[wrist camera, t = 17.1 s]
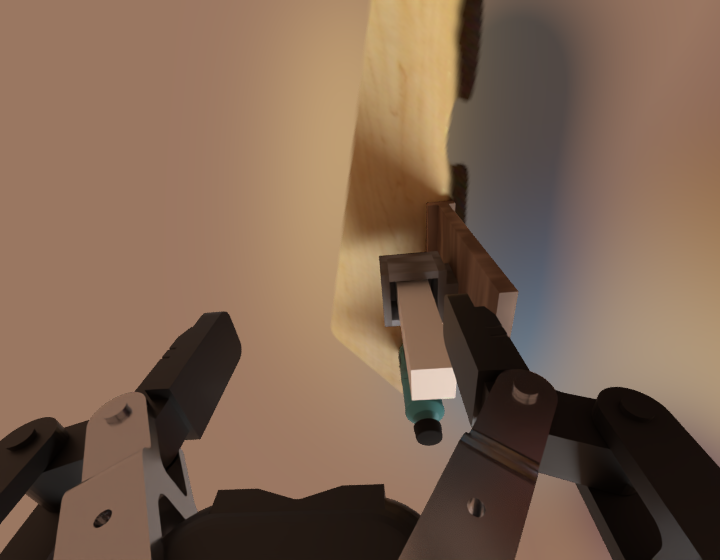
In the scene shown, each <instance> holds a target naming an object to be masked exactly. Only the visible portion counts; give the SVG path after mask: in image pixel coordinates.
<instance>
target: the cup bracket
mask: <svg viewBox="0 0 720 560" xmlns="http://www.w3.org/2000/svg"><path fill="white" fill-rule="evenodd" d="M379 261H380V273H381V285H382V297H383V309H384V321H385V327H389V326H401V325H400V319H399V312H398V305H397V299H396V287H395V282H396V281H408V280H420V279H428V282H429V285H430V288H431V291H432V294H433V297H434V300H435V303H436V306H437V309H438V312H439V315H440V317H441V320H442V323H443V316H444V297H445V295H450V294H463V293H467V294H468V295H469V297H470V299H471V301H472V303H473V305H474V307H479V306H485V307H486V308H487V309H489V310H490V311H491V312H493V313H494V314H495V315H496V316H497V318H498V319H499V321H500V323H501V324H502V327H503V328H504V329H505V331H506V332H507V334H508V337H510V335H511V330H512V324H513V319H514V313H515V308H516V302H517V297H518V290H517V289H516V288H515V287H514V285H513V284H512V283H511V282H510V280H509V279H508V278H507V277H506V275H505V274H504V273H503V272H502V270H501V269H500V268H499V267H498V265H497V264H496V263H495V262H494V260H493V259H492V258H491V257H490V255H489V254H488V253H487V252H486V250H485V249H484V248H483V247H482V245H481V244H480V243H479V241H478V240H477V239H476V238H475V236H473V234H472V233H471V232H470V230H469V229H468V228H467V226H466V225H465V224H464V223H463V221H462V220H461V219H460V218H459V216H458V215H457V214H456V213H455V202H454V201H453V200H452V201H442V202H432V203H427V249H426V252H420V253H409V254H397V255H386V256H379Z"/></svg>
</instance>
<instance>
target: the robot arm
mask: <svg viewBox="0 0 720 560" xmlns="http://www.w3.org/2000/svg"><path fill="white" fill-rule="evenodd" d="M443 337H444V343H445V347H446V350H447V353H448V356H449V359H450V362H451V365H452V369H453V372H454V375H455V378H456V381H457V384H458V387H459V390H460V393H461V397H462V400H463V403H464V405H465V409H466V412H467V415H468V418H469V421H470V424H471V427H472V429H471V431H470V433H467V432H466V433H464V434H463V436H462V437H461V439H460V440H459V442H458V444H457V446H456V448H455V450H454V452H453V454H452V456H451V458H450V460H449V462H448V464H447V466H446V468H445V470H444V471H443V473H442V475H441V477H440V479H439V481H438V483H437V485H436V487H435V489H434V491H433V493H432V495H431V497H430V499H429V501H428V502H427V504H426V506H425V508H424V510H423V512H422V514H421V515H419V514H418V513H417V512H416V511H414V510H413V509H411V508H409V507H408V506H406V505H404V504H402V503H400V502H398V501H395V500H392V499H389V498H386V497H385V490H384V484H374V485H349V486H348V485H347V486H340V487H336V488H333V489H330V490H327V491H324V492H321V493H318V494H315V495H312V496H309V497H306V498H303V499H292V498H288V497H285V496H281V495H278V494H274V493H271V492H267V491H264V490H261V489H235V490H218V492H217V495H216V498H215V500H214V503H213V505H212V506H210V507H208V508H205V509H203V510H201V511H199V512H198V511H197V508H196V506H195V503H194V499H193V494H192V490H191V485H190V481H189V476H188V471H187V467H186V462H185V457H184V453H183V451H182V450H181V448H180V447H181V446H182V444H183V442H184V440H194V439H201V437H202V435H203V433H204V431H205V429H206V427H207V425H208V423H209V420H210V418H211V416H212V414H213V412H214V410H215V408H216V406H217V404H218V402H219V400H220V398H221V396H222V394H223V392H224V390H225V388H226V386H227V384H228V382H229V380H230V378H231V376H232V374H233V372H234V370H235V368H236V366H237V364H238V362H239V359H240V356H241V343H240V340H239V338H238V335H237V333H236V330H235V328H234V325H233V323H232V320H231V318H230V316H229V314H228V313H227V312H212V313H204V314H203V315H202V316H201V317H200V318H199V320H198V321H197V322H196V324H195V325H194V326H193V327H191V328H190V329H188V330H187V331H186V332H184V333H183V334H182V335H180V336H179V337H178V338H177V339H176V340H175V342H174V343H173V344H172V345H171V347H170V350H168V351H167V352H166V353H165V354H164V355H163V357H162V359H160V361H159V362H158V363H157V364H156V366H155V367H154V368H153V369H152V370H151V372H150V373H149V374H148V376H147V377H146V378H145V379H144V380H143V382H142V383H141V384H140V386H139V387H138V388H137V389H136V390H135V392H130V393H126V394H123V395H120V396H118V397H116V398H114V399H112V400H110V401H109V402H107V403H106V404H104V405H103V406H102V407H101V408H99V409H98V410H97V411H96V412H95V413H94V415H93V416H92V417H91V418H90V420H88V421H84V422H81V423H78V424H75V425H72V426H69V427H65V428H64V427H63V426H62V425H61V424H60V423H59V422H58V421H57V420H56V419H54V418H51V417H45V418H40V419H37V420H34V421H31V422H29V423H27V424H25V425H23V426H21V427H19V428H18V429H16V430H14V431H13V432H11V433H10V434H9V435H7V436H6V437H5V438H3V439H2V440H1V441H0V524H1V522H2V521H3V520H4V519H5V518H6V516H7V515H8V514H9V513H10V511H11V510H12V509H13V508H14V507H15V505H16V504H17V503H18V502H19V501H20V499H21V498H22V497H23V496H24V495H25V494H26V495H28V496H29V497H30V498H32V499H33V500H34V501H35V502H37V503H38V505H37V507H36V508H35V509H34V510H33V512H32V513H31V514H30V516H29V517H28V519H27V520H26V521H25V522H24V524H23V525H22V526H21V527H20V529H19V530H18V531H17V533H16V534H15V535H14V537H13V538H12V539H11V540H10V542H9V543H8V544H7V546H6V547H5V548H4V550H3V551H2V553H1V554H0V560H515V557H516V553H517V549H518V546H519V542H520V539H521V535H522V532H523V528H524V524H525V520H526V517H527V513H528V510H529V506H530V503H531V499H532V495H533V492H534V488H535V485H536V481H537V477H538V473H542V474H546V475H549V476H553V477H556V478H560V479H563V480H567V481H570V482H574V483H576V485H577V487H578V489H579V491H580V494H581V495H582V498H583V500H584V501H585V504H586V506H587V508H588V510H589V512H590V514H591V516H592V518H593V520H594V522H595V524H596V526H597V529H598V531H599V532H600V535H601V537H602V539H603V541H604V543H605V545H606V547H607V549H608V551H609V553H610V555H611V557H612V559H613V560H720V467H719V466H718V465H717V464H716V463H715V462H714V461H713V460H712V459H711V457H710V456H709V455H708V454H707V453H706V452H705V451H704V450H703V449H702V447H701V446H700V445H699V444H698V443H697V442H696V441H695V440H694V438H693V437H692V436H691V435H690V434H689V433H688V432H687V431H686V430H685V428H684V427H683V426H682V425H681V424H680V423H679V422H678V421H677V420H676V419H675V417H674V416H673V415H672V414H671V413H670V412H669V411H668V410H667V409H666V408H665V407H664V406H663V405H662V404H660V403H659V402H657V401H656V400H654V399H653V398H651V397H649V396H647V395H645V394H643V393H641V392H638V391H635V390H632V389H628V388H623V387H610V388H606V389H604V390H602V391H601V392H600V393H599V395H598V397H597V399H592V398H587V397H582V396H577V395H572V394H567V393H563V392H560V391H557V390H555V389H554V387H553V386H552V385H551V384H550V383H549V382H548V381H547V380H546V379H544V378H543V377H541V376H540V375H538V374H536V373H533V372H531V371H529V369H528V367H527V366H526V364H525V362H524V361H523V359H522V357H521V356H520V354H519V352H518V351H517V349H516V347H515V346H514V344H513V342H512V341H511V339H510V337H508V334H507V332H506V331H505V329H504V328H503V327H502V324H501V323H500V321H499V319H498V318H497V316H496V315H495V314H494V313H493V312H491V311H490V310H489V309H487V308H486V307H485V306H479V307H474V305H473V303H472V301H471V299H470V297H469V295H468V294H467V293H463V294H450V295H445V297H444V316H443Z"/></svg>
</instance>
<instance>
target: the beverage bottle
mask: <svg viewBox="0 0 720 560" xmlns="http://www.w3.org/2000/svg"><path fill="white" fill-rule="evenodd" d="M398 358H399V361H400V363H399V364H400V366H399V367H400V368H399V369H400V370H401V380H402V386H403V394H404V402H405V413H406V416H407V418H408V420H410V421H411V422H412V423H414V424H415V425H414V432H415V434H416V439H417V441H418V442H419V443H420V444H422V445H428V446H430V445H435V444H438V443H439V442H440V441H441V440H442V428H441V424H440V422H439V421H440V420H441V419H442V417H443V416H444V406H443V404H442V399H430V400H412V398H411V391H410V385H409V378H408V371H407V365H406V358H405V352H404V345H402V346H401V347H400V350H399V357H398Z"/></svg>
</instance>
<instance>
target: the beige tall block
mask: <svg viewBox="0 0 720 560" xmlns="http://www.w3.org/2000/svg"><path fill="white" fill-rule="evenodd" d="M395 287H396V299H397V305H398V312H399V319H400V325H401V332H402V338H403V345H404V352H405V358H406V365H407V371H408V378H409V385H410V391H411V398H412V400H430V399H448V398H455V394H456V378H455V375H454V372H453V369H452V365H451V362H450V359H449V356H448V353H447V350H446V347H445V343H444V337H443V324H442V320H441V317H440V315H439V312H438V309H437V306H436V303H435V300H434V297H433V294H432V291H431V288H430V285H429V282H428V279H420V280H408V281H396V282H395Z"/></svg>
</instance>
